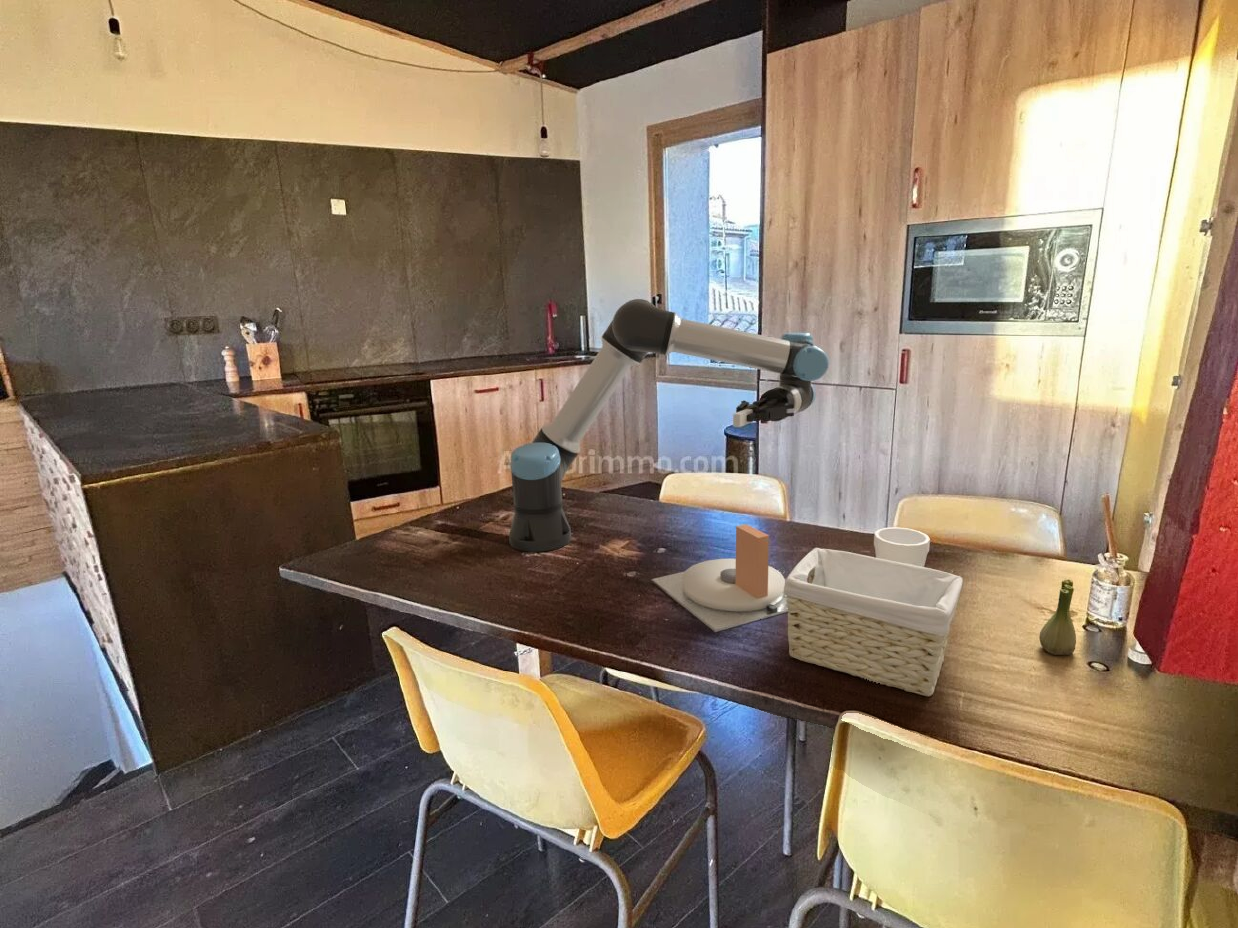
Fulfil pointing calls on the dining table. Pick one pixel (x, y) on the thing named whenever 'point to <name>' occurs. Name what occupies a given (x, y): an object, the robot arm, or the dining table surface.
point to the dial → (737, 576)
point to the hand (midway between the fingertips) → (736, 420)
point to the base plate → (714, 616)
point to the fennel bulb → (1060, 625)
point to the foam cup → (901, 545)
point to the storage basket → (871, 617)
